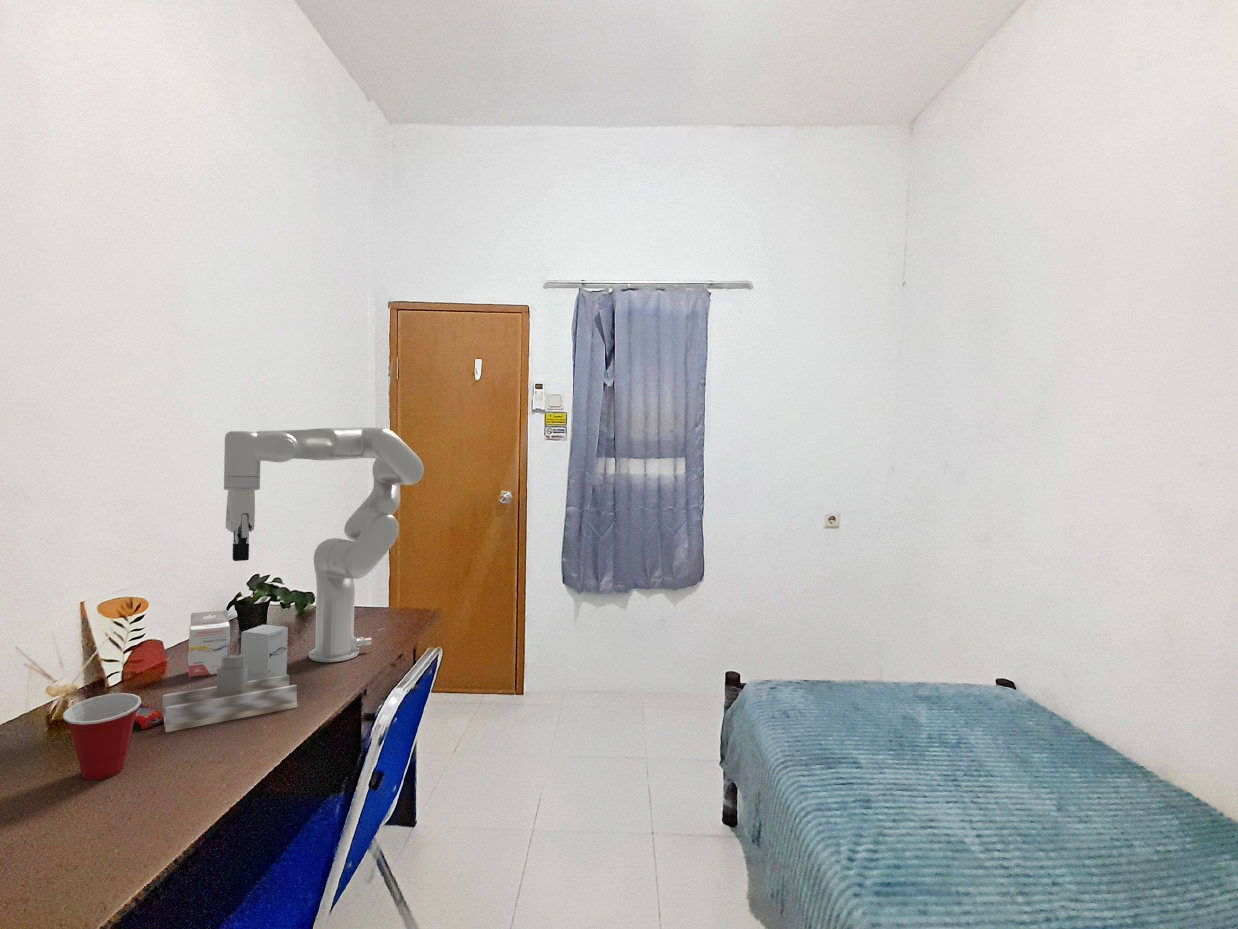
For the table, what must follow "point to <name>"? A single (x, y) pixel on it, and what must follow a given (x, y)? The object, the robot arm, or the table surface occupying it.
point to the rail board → (227, 703)
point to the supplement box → (265, 651)
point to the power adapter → (232, 675)
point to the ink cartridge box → (207, 642)
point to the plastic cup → (102, 732)
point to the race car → (146, 717)
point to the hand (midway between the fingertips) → (240, 560)
